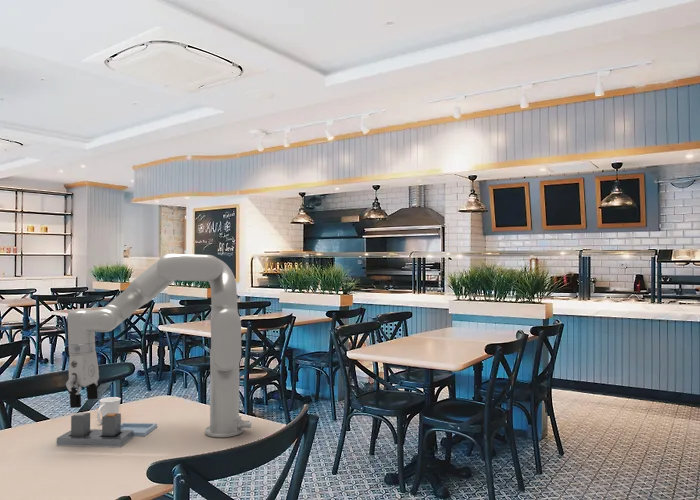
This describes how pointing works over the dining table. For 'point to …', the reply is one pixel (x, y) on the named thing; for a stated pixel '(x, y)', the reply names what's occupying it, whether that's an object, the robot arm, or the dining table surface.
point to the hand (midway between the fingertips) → (84, 402)
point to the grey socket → (100, 435)
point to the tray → (139, 428)
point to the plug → (80, 424)
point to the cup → (108, 406)
